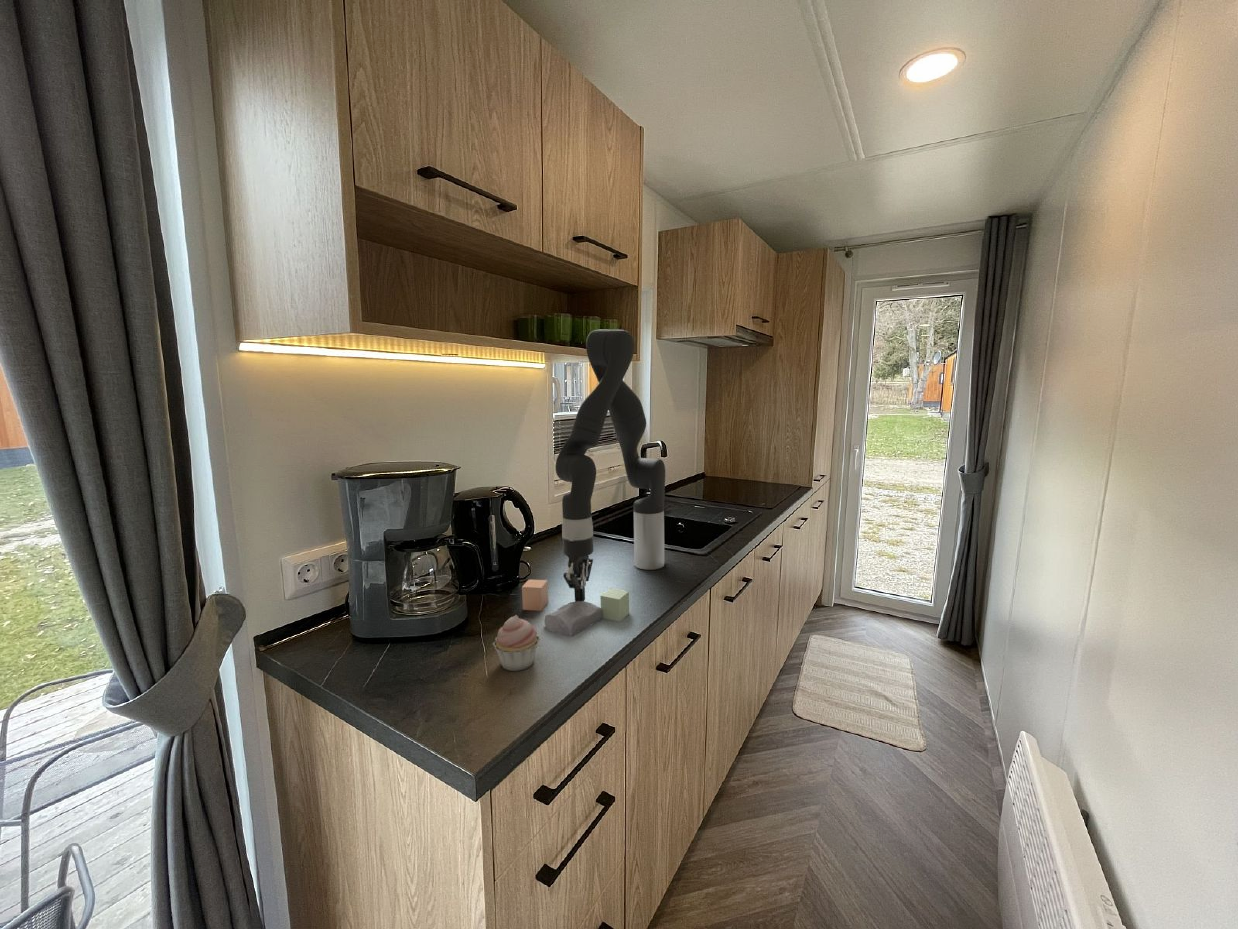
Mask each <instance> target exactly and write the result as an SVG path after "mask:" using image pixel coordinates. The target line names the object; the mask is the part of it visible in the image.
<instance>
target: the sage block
mask: <svg viewBox="0 0 1238 929" xmlns="http://www.w3.org/2000/svg"><path fill="white" fill-rule="evenodd" d="M600 608H601V610H602V617H601V619H602V618H603V619H607V620H611V621H616V622H621V621H622V620H624V618H625V617H626V616H628V615H629V614H630V591H627V590H622V589H616V588H609V589H608V590H607V591H605V592H604V593H601V595H600Z"/></svg>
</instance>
